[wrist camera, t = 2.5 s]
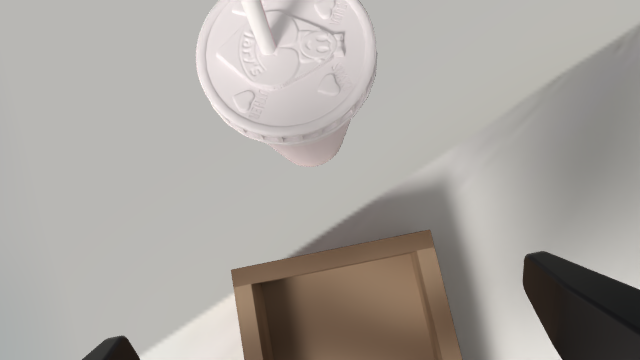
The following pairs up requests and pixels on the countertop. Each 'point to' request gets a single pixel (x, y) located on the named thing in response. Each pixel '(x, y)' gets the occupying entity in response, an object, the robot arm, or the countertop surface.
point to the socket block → (348, 304)
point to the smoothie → (288, 71)
